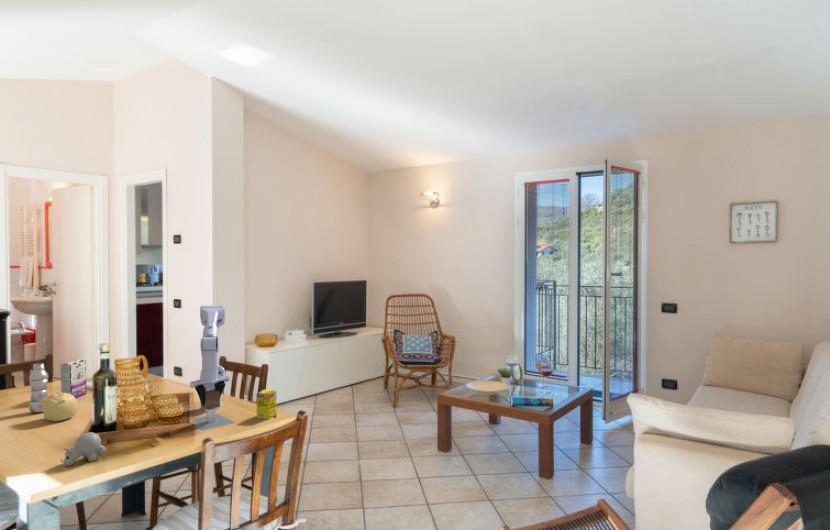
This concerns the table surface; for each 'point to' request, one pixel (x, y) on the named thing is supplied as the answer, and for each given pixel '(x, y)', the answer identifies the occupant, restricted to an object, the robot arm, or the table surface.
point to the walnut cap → (211, 399)
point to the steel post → (210, 415)
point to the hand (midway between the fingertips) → (210, 402)
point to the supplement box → (266, 404)
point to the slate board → (218, 422)
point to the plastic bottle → (38, 387)
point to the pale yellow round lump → (59, 406)
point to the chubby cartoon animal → (84, 449)
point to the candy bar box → (74, 377)
